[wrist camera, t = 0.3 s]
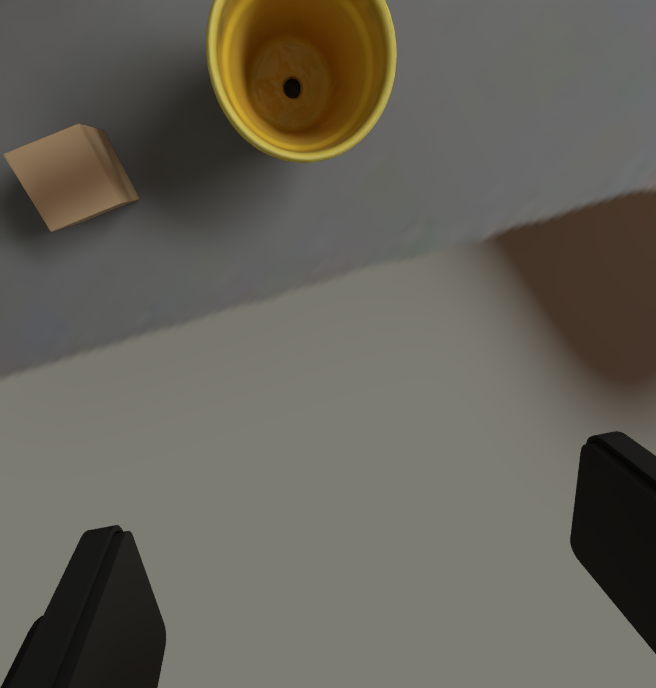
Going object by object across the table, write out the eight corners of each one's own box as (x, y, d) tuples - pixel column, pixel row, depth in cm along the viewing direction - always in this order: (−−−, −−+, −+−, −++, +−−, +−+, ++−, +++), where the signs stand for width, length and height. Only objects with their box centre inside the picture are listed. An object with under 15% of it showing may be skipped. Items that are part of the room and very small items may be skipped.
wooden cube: (39, 156, 32) (3, 154, 28) (104, 130, 32) (78, 123, 28) (78, 223, 34) (51, 231, 29) (139, 198, 34) (121, 202, 29)
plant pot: (385, 113, 34) (431, 93, 25) (274, 191, 35) (279, 198, 26) (311, -32, 30) (333, -117, 21) (188, 59, 31) (160, 14, 22)
